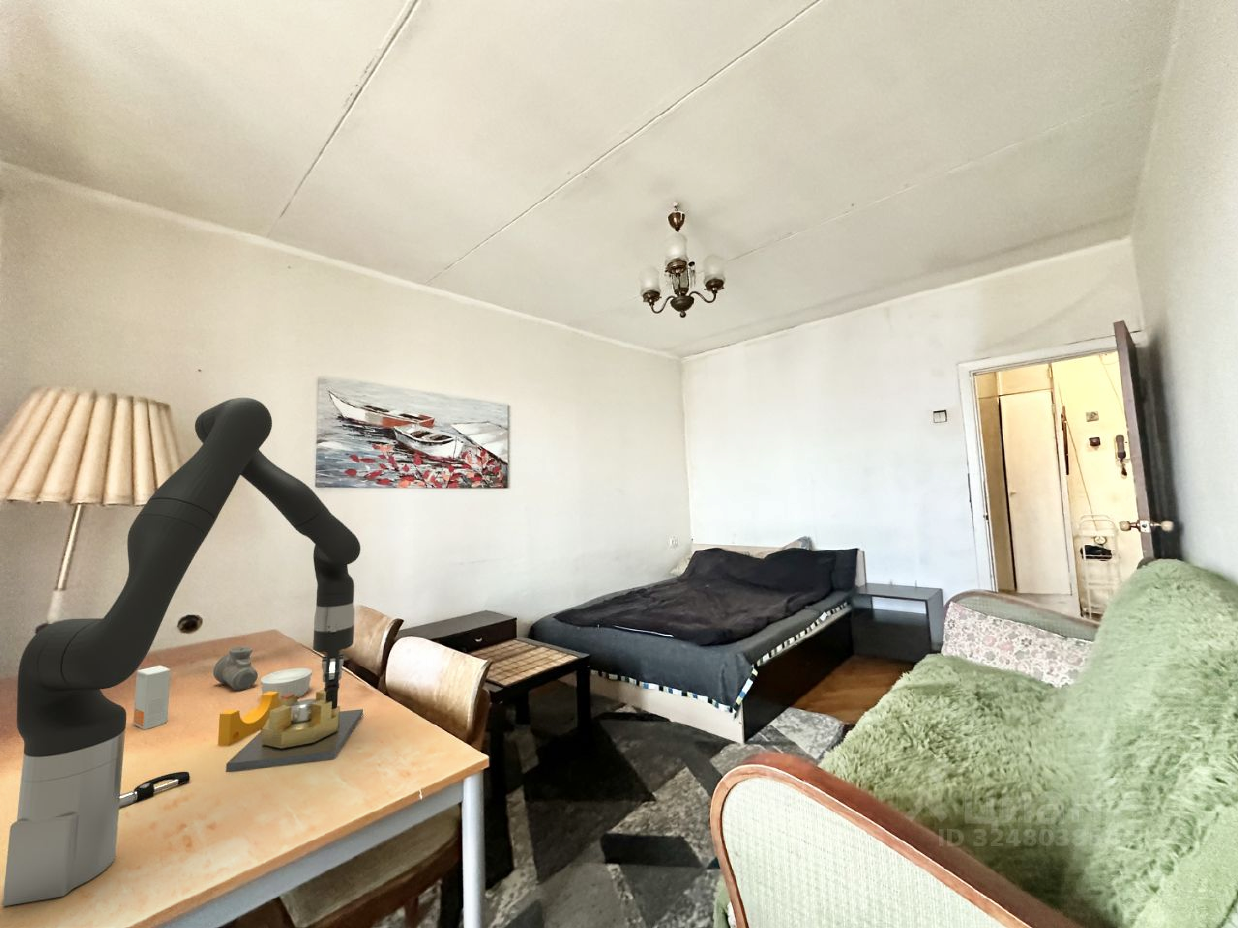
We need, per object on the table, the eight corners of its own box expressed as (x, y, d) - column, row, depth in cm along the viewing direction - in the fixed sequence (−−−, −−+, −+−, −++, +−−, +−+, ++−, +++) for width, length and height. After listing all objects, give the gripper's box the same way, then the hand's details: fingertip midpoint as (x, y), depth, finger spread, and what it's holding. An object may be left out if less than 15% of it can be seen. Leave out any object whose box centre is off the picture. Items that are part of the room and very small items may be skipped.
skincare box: (131, 724, 109) (136, 670, 110) (156, 717, 112) (160, 664, 113) (143, 730, 106) (147, 674, 107) (168, 722, 110) (172, 668, 111)
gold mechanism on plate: (334, 758, 93) (336, 718, 94) (224, 772, 89) (226, 729, 89) (362, 715, 112) (363, 682, 113) (273, 724, 108) (275, 690, 109)
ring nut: (256, 752, 92) (259, 715, 93) (272, 725, 104) (274, 692, 104) (335, 738, 98) (336, 703, 98) (341, 713, 109) (342, 682, 110)
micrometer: (183, 771, 90) (184, 757, 90) (194, 784, 85) (195, 769, 86) (60, 813, 78) (62, 796, 78) (66, 830, 73) (67, 812, 74)
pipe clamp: (260, 720, 111) (262, 691, 112) (277, 720, 110) (279, 691, 111) (210, 745, 99) (212, 713, 100) (228, 746, 99) (230, 714, 99)
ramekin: (271, 707, 118) (272, 685, 118) (251, 698, 123) (252, 677, 124) (319, 692, 127) (320, 672, 127) (298, 684, 133) (299, 665, 133)
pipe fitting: (209, 684, 132) (217, 646, 133) (244, 678, 139) (251, 642, 140) (223, 699, 125) (231, 659, 126) (259, 692, 132) (267, 654, 132)
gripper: (316, 620, 108) (312, 700, 107) (311, 634, 96) (307, 724, 95) (354, 616, 112) (351, 694, 110) (354, 629, 100) (351, 716, 99)
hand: (331, 707), depth 103 cm, fingers closed
